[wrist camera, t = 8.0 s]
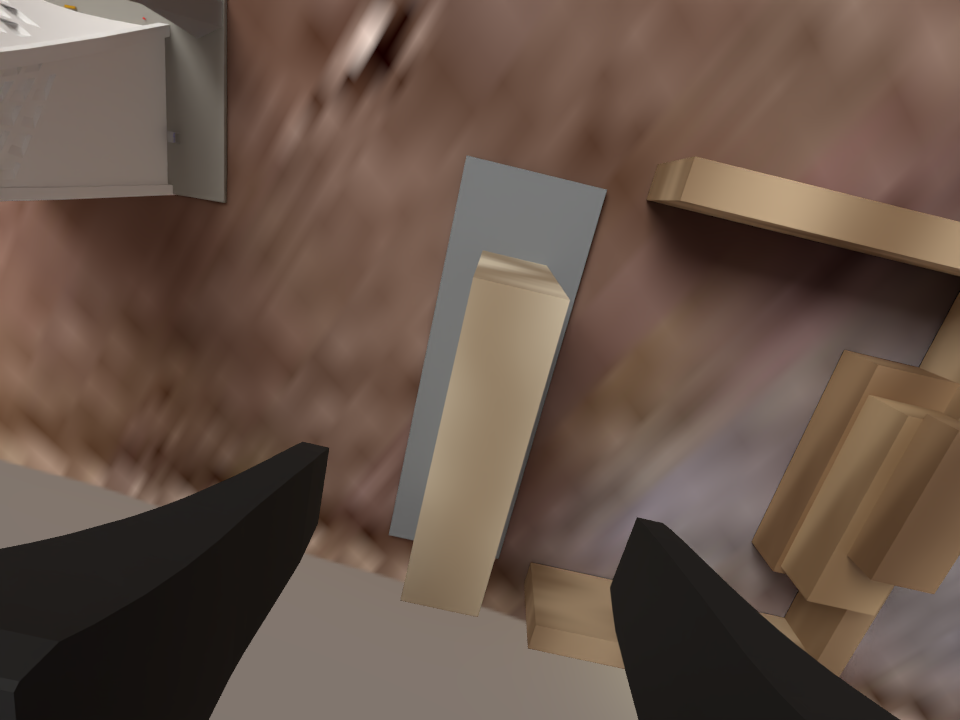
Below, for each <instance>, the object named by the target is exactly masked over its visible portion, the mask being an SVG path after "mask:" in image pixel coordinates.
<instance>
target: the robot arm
mask: <svg viewBox="0 0 960 720" xmlns="http://www.w3.org/2000/svg"><path fill="white" fill-rule="evenodd" d="M328 453H329V448H328V447H323V446H319V445H314V444H310V443H306V442H301V443H299V444H297V445H295V446H293V447H291V448H289V449H287V450H285V451H283V452H281V453H279V454H277V455H276V456H274V457H272V458H270V459H268V460H266V461H264V462H262V463H260V464H258V465H256V466H254V467H252V468H250V469H248V470H246V471H244V472H242V473H240V474H238V475H236V476H234V477H232V478H229V479H227V480H225V481H222V482H220V483H218V484H216V485H213V486H211V487H209V488H207V489H204V490H202V491H200V492H197V493H195V494H193V495H191V496H188V497H186V498H183V499H180V500H178V501H175V502H173V503H170V504H167V505H164V506H162V507H159V508H156V509H153V510H150V511H147V512H144V513H141V514H138V515H135V516H132V517H129V518H126V519H122V520H119V521H115V522H111V523H107V524H104V525H101V526H97V527H93V528H89V529H86V530H82V531H79V532H75V533H71V534H67V535H63V536H59V537H55V538H50V539H46V540H41V541H37V542H33V543H28V544H23V545H18V546H13V547H8V548H2V549H0V720H209V718H210V716H211V714H212V712H213V710H214V708H215V706H216V704H217V702H218V700H219V698H220V696H221V694H222V692H223V690H224V688H225V686H226V684H227V682H228V680H229V678H230V676H231V674H232V673H233V671H234V669H235V667H236V666H237V664H238V662H239V660H240V659H241V657H242V655H243V653H244V652H245V650H246V649H247V647H248V645H249V644H250V642H251V640H252V639H253V637H254V636H255V634H256V632H257V631H258V629H259V628H260V626H261V624H262V623H263V621H264V620H265V618H266V616H267V615H268V613H269V612H270V610H271V608H272V607H273V605H274V604H275V602H276V600H277V599H278V597H279V596H280V594H281V592H282V590H283V589H284V587H285V585H286V584H287V583H288V581H289V579H290V577H291V576H292V574H293V573H294V571H295V569H296V568H297V566H298V564H299V563H300V561H301V559H302V557H303V555H304V552H305V550H306V548H307V546H308V544H309V542H310V539H311V537H312V535H313V533H314V531H315V528H316V526H317V524H318V519H319V512H320V506H321V499H322V492H323V486H324V479H325V473H326V466H327V459H328ZM610 594H611V602H612V611H613V618H614V625H615V632H616V636H617V640H618V644H619V648H620V652H621V656H622V660H623V663H624V667H625V671H626V675H627V679H628V682H629V686H630V690H631V694H632V697H633V701H634V705H635V708H636V712H637V716H638V720H900V719H898V718H896V717H895V716H893V715H892V714H891V713H889V712H888V711H886V710H885V709H883V708H882V707H880V706H879V705H878V704H876V703H875V702H873V701H872V700H870V699H869V698H867V697H866V696H864V695H863V694H862V693H860V692H859V691H857V690H856V689H854V688H853V687H852V686H850V685H849V684H847V683H846V682H845V681H843V680H842V679H841V678H839V677H838V676H836V675H835V674H834V673H832V672H831V671H830V670H828V669H827V668H826V667H825V666H823V665H822V664H821V663H819V662H818V661H817V660H816V659H814V658H813V657H812V656H810V655H809V654H808V653H807V652H805V651H804V650H803V649H802V648H800V647H799V646H798V645H796V644H795V643H794V642H793V641H792V640H790V639H789V638H788V637H787V636H785V635H784V634H783V633H782V632H781V631H779V630H778V629H777V628H776V627H775V626H774V625H773V624H771V623H770V622H769V621H768V620H767V619H766V618H765V617H763V616H762V615H761V614H760V613H759V612H758V611H757V610H755V609H754V608H753V607H752V606H751V605H750V604H749V603H748V602H747V601H746V600H744V599H743V598H742V597H741V596H740V595H739V594H738V593H737V592H736V591H735V590H734V589H733V588H732V587H730V586H729V585H728V584H727V583H726V582H725V581H724V580H723V579H722V578H721V577H720V576H719V575H718V574H717V573H716V572H715V571H714V570H713V569H712V568H711V567H710V566H709V565H708V564H707V563H705V562H704V561H703V560H702V559H701V558H700V557H699V556H698V555H697V554H696V553H695V552H694V551H693V550H692V549H691V548H690V547H689V546H688V545H687V544H686V543H685V542H684V541H683V540H682V539H681V538H679V537H678V536H677V535H676V534H675V533H674V532H673V531H672V530H671V529H669V528H668V527H667V526H666V525H664V524H663V523H660V522H655V521H651V520H646V519H642V518H638V517H637V519H636V521H635V524H634V527H633V529H632V532H631V534H630V537H629V540H628V542H627V545H626V547H625V550H624V552H623V555H622V558H621V560H620V563H619V565H618V568H617V570H616V573H615V576H614V578H613V581H612V583H611V586H610Z"/></svg>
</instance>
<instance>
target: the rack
mask: <svg viewBox="0 0 960 720" xmlns="http://www.w3.org/2000/svg"><path fill="white" fill-rule="evenodd" d="M647 200H649V201H653V202H657V203H661V204H665V205H669V206H673V207H677V208H681V209H685V210H690V211H694V212H698V213H702V214H706V215H710V216H714V217H718V218H722V219H726V220H730V221H735V222H739V223H743V224H747V225H751V226H755V227H759V228H763V229H767V230H771V231H775V232H780V233H784V234H788V235H792V236H796V237H800V238H804V239H808V240H812V241H816V242H820V243H825V244H829V245H833V246H837V247H841V248H845V249H849V250H853V251H857V252H861V253H865V254H870V255H874V256H878V257H882V258H886V259H890V260H894V261H898V262H902V263H906V264H910V265H915V266H919V267H923V268H927V269H931V270H935V271H939V272H943V273H947V274H951V275H955V276H960V222H957V221H953V220H949V219H945V218H941V217H937V216H933V215H929V214H925V213H921V212H917V211H913V210H909V209H905V208H901V207H897V206H893V205H889V204H885V203H881V202H877V201H873V200H869V199H865V198H861V197H857V196H853V195H849V194H845V193H841V192H837V191H832V190H828V189H824V188H820V187H816V186H812V185H808V184H804V183H800V182H796V181H792V180H788V179H784V178H780V177H776V176H772V175H768V174H764V173H760V172H756V171H752V170H748V169H744V168H740V167H736V166H732V165H728V164H724V163H720V162H716V161H712V160H708V159H704V158H699V157H690V158H686V159H681V160H676V161H672V162H667V163H662V164H658V166H657V169H656V172H655V175H654V178H653V181H652V184H651V187H650V191H649V194H648V197H647ZM919 368H921V369H924V370H926V371H929V372H931V373H934V374H936V375H938V376H941V377H943V378H946V379H948V380H951V381H953V382H956V383H958V384H960V292H959V294H958V296H957V298H956V300H955V302H954V303H953V305H952V307H951V309H950V311H949V313H948V315H947V316H946V318H945V320H944V322H943V324H942V326H941V328H940V329H939V331H938V333H937V335H936V337H935V339H934V341H933V342H932V344H931V346H930V348H929V350H928V352H927V354H926V355H925V357H924V359H923V361H922V363H921V365H920V367H919ZM943 414H945V415H947V416H950V417H952V418H954V419H956V420H958V421H960V385H959V387H958V389H957V390H956V392H955V394H954V396H953V397H952V399H951V401H950V403H949V404H948V406H947V408H946V410H945V411H944V413H943ZM612 581H613V580H610V579H605V578H600V577H596V576H591V575H587V574H582V573H578V572H573V571H569V570H564V569H559V568H555V567H550V566H546V565H541V564H537V563H532V562H531V563H530V566H529V569H528V573H527V576H526V579H525V582H524V589H525V606H526V623H527V638H528V639H527V640H528V648H529V649H534V650H539V651H543V652H548V653H552V654H557V655H562V656H566V657H571V658H576V659H580V660H585V661H590V662H595V663H599V664H604V665H609V666H613V667H618V668H622V669H625V667H624V663H623V660H622V656H621V652H620V648H619V644H618V640H617V636H616V632H615V625H614V618H613V611H612V602H611V594H610V586H611V583H612ZM894 586H895V585H893V586H892V588H891V589H890V591H889V593H888V594H887V596H886V597H885V599H884V601H883V602H882V604H881V606H880V607H879V609H878V611H877V612H876V614H875V616H874V615H869V614H864V613H860V612H855V611H851V610H846V609H842V608H837V607H833V606H828V605H824V604H819V603H815V602H810V601H807V600H806V599H805V598H804V596H803V595H802V594H801V592H800V591H798V593H797V595H796V597H795V599H794V601H793V603H792V604H791V606H790V608H789V610H788V612H787V614H786V616H785V617H784V618H783V617H778V616H774V615H769V614H765V613H760V612H759V613H760V614H761V615H762V616H763V617H765V618H766V619H767V620H768V621H769V622H770V623H771V624H773V625H774V626H775V627H776V628H777V629H778V630H779V631H781V632H782V633H783V634H784V635H785V636H787V637H788V638H789V639H790V640H792V641H793V642H794V643H795V644H796V645H798V646H799V647H800V648H802V649H803V650H804V651H805V652H807V653H808V654H809V655H810V656H812V657H813V658H814V659H816V660H817V661H818V662H819V663H821V664H822V665H823V666H825V667H826V668H827V669H828V670H830V671H831V672H832V673H834V674H835V675H836V676H838V677H839V676H840V674H841V673H842V671H843V669H844V668H845V666H846V664H847V663H848V661H849V660H850V658H851V656H852V655H853V653H854V651H855V650H856V648H857V646H858V645H859V643H860V642H861V640H862V638H863V637H864V635H865V633H866V632H867V630H868V628H869V627H870V625H871V624H872V622H873V620H874V619H875V617H876V615H877V614H878V612H879V610H880V609H881V607H882V606H883V604H884V602H885V601H886V599H887V597H888V596H889V594H890V592H891V591H892V589H893V588H894Z"/></svg>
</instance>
